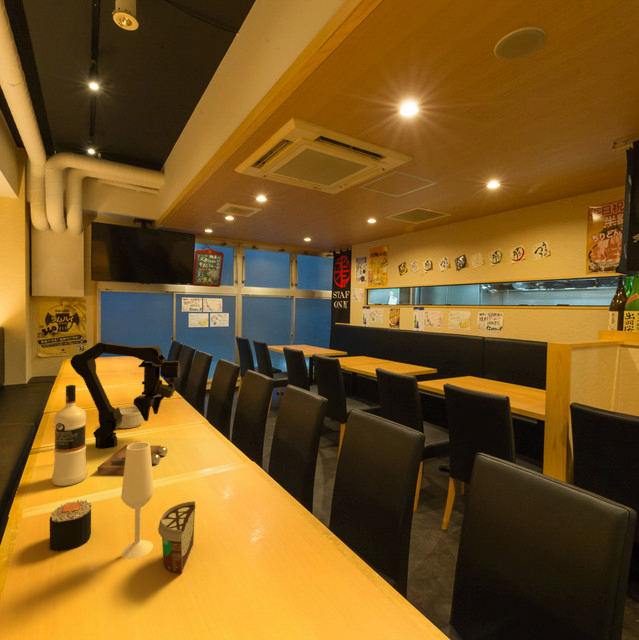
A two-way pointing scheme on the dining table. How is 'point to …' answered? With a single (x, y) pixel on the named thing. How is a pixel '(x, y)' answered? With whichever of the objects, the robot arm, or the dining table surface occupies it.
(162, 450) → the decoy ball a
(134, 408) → the ramekin
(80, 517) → the sushi
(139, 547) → the champagne flute
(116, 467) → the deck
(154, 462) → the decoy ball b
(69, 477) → the vodka
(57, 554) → the dining table surface
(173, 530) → the food container
